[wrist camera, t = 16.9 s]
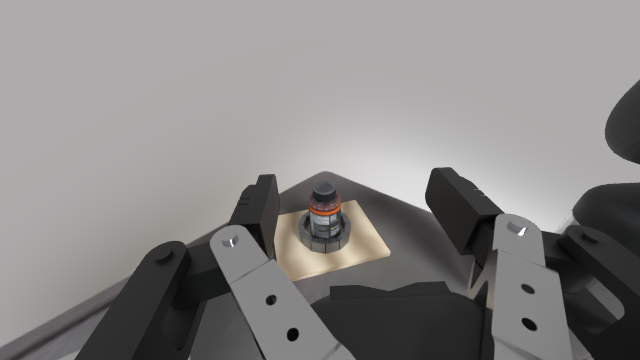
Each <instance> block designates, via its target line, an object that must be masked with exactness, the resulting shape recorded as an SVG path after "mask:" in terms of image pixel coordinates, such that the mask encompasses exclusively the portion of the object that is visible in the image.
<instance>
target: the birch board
mask: <svg viewBox="0 0 640 360" xmlns="http://www.w3.org/2000/svg"><path fill="white" fill-rule="evenodd" d="M308 211H309V209H308V210H303V211H298V212H293V213H288V214H283V215H278V221H277V226H276V231H275V236H274V244H275V251H276V258H277V263H278V264H279V266H280V267H281V268H282V270H283V271H284V272H285V274H286V275H287V276H288V278H289V279H290V280H291V281H292V282H293V281H297V280H300V279H304V278H308V277H312V276H315V275H319V274H323V273H327V272H330V271H334V270H338V269H342V268H345V267H349V266H353V265H357V264H360V263H364V262H368V261H372V260H375V259H379V258H383V257H386V256H390V251H389V249H388V248H387V246H386V245H385V243H384V242H383V240H382V239H381V237H380V236H379V234H378V233H377V231H376V230H375V228H374V227H373V225H372V224H371V222H370V221H369V220H368V218H367V217H366V215H365V214H364V212H363V211H362V209H361V208H360V206H359V205H358V203H357V202H356V200H353V201H348V202H343V203H341V211H342V212H343V213H345V214H346V215H347V216H348V218H349V220H350V222H351V233H350V238H349V242H348V243H347V244H346V245H345V246H344V247H343V248H342V249H341V250H339V251H335V252H331V253H327V254H326V253H325V254H323V253H318V252H312V251H310V250H309V249H308V248H307V247H305V246H304V245H303V244H302V243H301V239H300V236H299V229H298V223H299V221H300V219H301V217H302V216H303V214H305V213H306V212H308ZM343 231H344V229H343V227H342V225H341V227H340V234H341V233H342V232H343ZM305 232H306V233H308V234H309V235H310V236H312V235H311V230H310V224H309V225H308V226H307V228H306V230H305Z"/></svg>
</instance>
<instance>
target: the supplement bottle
mask: <svg viewBox="0 0 640 360" xmlns="http://www.w3.org/2000/svg"><path fill="white" fill-rule="evenodd" d="M308 203H309V216H310V230H311V235H312V237H313V238H317V239H322V240H327V239H332V238H336V237H337V236H339V235H340V227H341V198H340V196H339V194H338V193H336V187H335V185H334V184H333V183H331V182H328V181H321V182H318V183H316V184H315V185H314V186H313V193H312V194H311V195H310V197H309V200H308Z"/></svg>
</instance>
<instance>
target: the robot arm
mask: <svg viewBox="0 0 640 360" xmlns="http://www.w3.org/2000/svg"><path fill="white" fill-rule="evenodd" d="M605 138H606V141H607V144H608V146H609V147H610V148H611V149H612V151H613V152H614V153H616V154H617V155H619V156H620V157H622V158H623V159H626V160H628V161H631V162H634V163H637V164H640V80H639V81H638V82H637V83H636V84H635V85H634V86H633V87H632V88H631V89H630V90H629V91H628V92H627V93H626V94H625V95H624V96H623V97H622V98H621V99H620V100H619V102H618V103H617V104H616V106H615V107H614V109H613V110H612V112H611V114H610V116H609V118H608V120H607V123H606V128H605ZM425 199H426V203H427V205H428V207H429V208H430V210H431V211H432V213H433V214H434V216H435V217H436V219H437V220H438V222H439V223H440V225H441V226H442V228H443V229H444V231H445V232H446V234H447V235H448V237H449V238H450V240H451V241H452V243H453V244H454V246H455V247H456V249H457V250H458V252H459V253H460V255H473V256H474V257H475V258H474V260H473V262H472V267H471V272H470V277H469V282H468V288H467V293H466V296H463V295H461V294H458V293H455V292H451V291H449V289H448V287H447V285H446V283H445V281H441V282H418V283H414V284H411V285H407V286H404V287H401V288H398V289H395V290H392V291H385V290H380V289H375V288H370V287H365V286H360V285H348V286H330V295H329V296H326V297H323V298H321V299H319V300H317V301H316V302H314V303H313V304H311V305H309V304H308V302H307V301H306V300H305V299H304V297H303V296H302V295H301V293H300V292H299V291H298V289H297V288H296V287H295V285H294V284H293V283H292V281H291V280H290V279H289V278H288V276H287V275H286V274H285V272H284V271H283V270H282V268H281V267H280V266H279V264H278V263H277V262H276V261H275V260H274V259H273V258H271V259H270V257H271V252H272V247H273V241H274V236H275V231H276V226H277V221H278V215H279V210H280V199H279V193H278V188H277V182H276V176H275V174H267V175H259V177H258V180H257V183H256V185H249V186H248V187H247V188H246V189H245V190H244V191H243V192H242V194H241V196H240V200H239V201H238V203H237V206H236V208H235V210H234V212H233V214H232V216H231V219H230V221H229V223H228V225H227V227H225V228H222V229H221V230H219V231H218V232H216V233H215V234H214V235H213V237H212V238H211V240H210V242H208V243H205V244H201V245H198V246H194V247H191V248H186V246H185V244H184V243H182V242H180V241H171V242H166V243H163V244H161V245H159V246H157V247H155V248H154V249H152V250H151V251H150V252H149V253H148V254H147V255H146V256H145V257H144V258H143V260H142V261H141V263H140V265H139V266H138V267H137V269H136V270H135V271H134V273H133V274H132V276H131V277H130V279H129V280H128V282H127V283H126V285H125V286H124V288H123V289H122V290H121V292H120V293H119V295H118V296H117V298H116V299H115V301H114V302H113V304H112V305H111V307H110V308H109V310H108V311H107V312H106V314H105V315H104V317H103V318H102V320H101V321H100V323H99V324H98V326H97V327H96V329H95V330H94V331H93V333H92V334H91V336H90V337H89V339H88V340H87V342H86V343H85V345H84V346H83V348H82V349H81V351H80V352H79V353H78V355H77V356H76V358H75V359H74V360H188V357H189V354H190V351H191V348H192V345H193V342H194V339H195V336H196V333H197V330H198V327H199V324H200V321H201V318H202V315H203V312H204V309H205V306H206V303H207V300H209V299H212V298H215V297H217V296H220V295H223V294H226V293H229V292H231V294H232V296H233V298H234V300H235V302H236V304H237V306H238V309H239V311H240V313H241V315H242V317H243V319H244V321H245V323H246V325H247V327H248V329H249V331H250V333H251V336H252V338H253V340H254V342H255V344H256V346H257V348H258V350H259V352H260V355H261V357H262V359H263V360H582V359H586V358H588V357H590V356H592V357H593V358H594V360H640V183H622V184H621V183H620V184H606V185H600V186H597V187H594V188H592V189H590V190H588V191H587V192H586V193H585V194H584V195H583V196H582V197H581V198H580V200H579V201H578V202H577V203H576V205H575V206H574V208H573V209H572V210H571V212H570V213H569V214H568V216H567V217H566V218H565V220H564V221H563V222H562V224H561V225H560V226H559V228H558V229H557V230H556V232H555V233H551V232H545V231H541V230H540V229H539V228H538V227H537V226H536V225H535V224H534V223H532V222H531V221H529V220H527V219H525V218H523V217H520V216H517V215H513V214H505V213H504V212H503V211H502V210H501V209H500V208H499V207H497V206H496V205H495V204H494V203H493V202H492V201H491V200H490V199H489V198H488V197H487V196H485V195H484V193H483V192H482V191H480V190H479V189H478V188H477V187H476V186H475V185H474V184H473V183H472V182H471V181H469V180H467V179H465V178H463V177H460V176H459V175H458V174H457V173H456V172H455V171H454V170H453V169H452V168H450V167H447V168H446V167H445V168H434V169H433V170H432V171H431V175H430V178H429V182H428V186H427V189H426V193H425Z"/></svg>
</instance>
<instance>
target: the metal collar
mask: <svg viewBox="0 0 640 360" xmlns="http://www.w3.org/2000/svg"><path fill="white" fill-rule="evenodd" d="M309 224H310V216H309V211H308V212H306V213H305V214H303V216H302V217H301V219H300V221H299V223H298V229H299V236H300V239H301V243H302V244H303V245H304V246H305V247H307V248H308V249H309V250H310V251H312V252H318V253H323V254H325V253H326V254H327V253H331V252H335V251H339V250H341V249H342V248H343V247H344V246H345V245H346V244H347V243H348V242H349V238H350V233H351V222H350V220H349V218H348V216H347V215H346V214H345V213H343V212H342V211H341V225H342V227H343V229H344V231H343V232H342V233H341V234H340V235H339V236H337V237H336V238H332V239H327V240H322V239H317V238H313V237H312V236H310V235H309V234H308V233H306V232H305V230H306V228H307V226H308V225H309Z"/></svg>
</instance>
